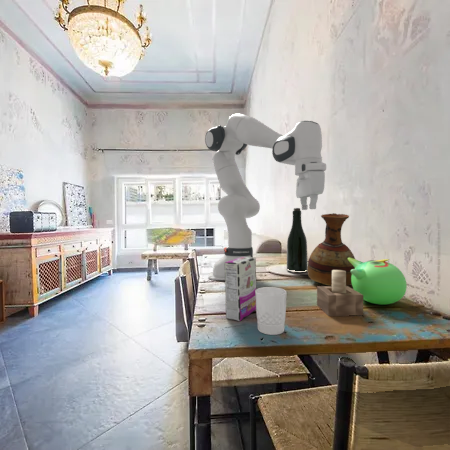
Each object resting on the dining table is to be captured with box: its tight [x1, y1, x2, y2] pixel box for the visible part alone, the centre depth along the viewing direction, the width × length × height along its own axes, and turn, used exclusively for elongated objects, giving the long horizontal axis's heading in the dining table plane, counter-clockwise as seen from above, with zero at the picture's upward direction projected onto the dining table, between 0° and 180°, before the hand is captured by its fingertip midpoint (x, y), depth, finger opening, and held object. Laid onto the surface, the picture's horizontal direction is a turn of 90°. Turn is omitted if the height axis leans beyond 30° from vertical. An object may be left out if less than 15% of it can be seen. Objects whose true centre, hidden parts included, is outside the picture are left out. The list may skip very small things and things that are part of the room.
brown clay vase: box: [307, 213, 356, 286], centre depth 115 cm, size 20×20×30 cm
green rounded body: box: [347, 258, 408, 306], centre depth 90 cm, size 18×17×15 cm
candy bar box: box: [224, 256, 257, 322], centre depth 80 cm, size 11×5×16 cm, turn 148°
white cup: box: [255, 286, 288, 336], centre depth 69 cm, size 8×8×10 cm
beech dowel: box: [332, 270, 346, 293], centre depth 83 cm, size 4×4×12 cm
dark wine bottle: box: [286, 207, 308, 271], centre depth 141 cm, size 10×10×33 cm
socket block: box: [316, 285, 364, 317], centre depth 83 cm, size 10×10×6 cm
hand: (308, 209), depth 93 cm, fingers open, 8 cm apart
